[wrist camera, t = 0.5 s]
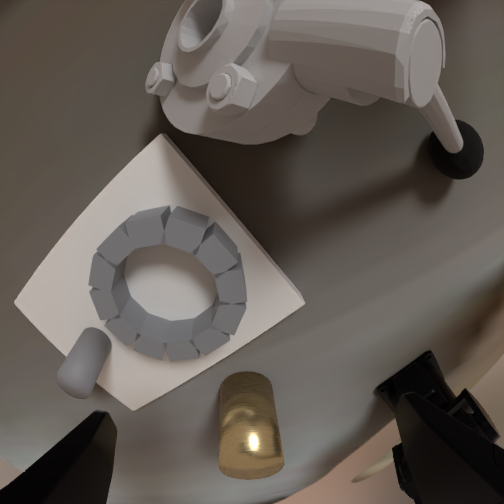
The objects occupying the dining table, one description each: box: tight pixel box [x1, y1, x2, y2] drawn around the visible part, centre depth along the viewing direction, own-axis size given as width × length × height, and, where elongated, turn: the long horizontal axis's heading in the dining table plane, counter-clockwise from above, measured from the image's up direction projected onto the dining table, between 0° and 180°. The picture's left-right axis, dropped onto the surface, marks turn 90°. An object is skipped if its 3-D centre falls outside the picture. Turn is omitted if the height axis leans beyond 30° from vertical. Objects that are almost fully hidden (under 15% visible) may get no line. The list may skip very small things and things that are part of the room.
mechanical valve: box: [146, 0, 484, 180], centre depth 15 cm, size 10×18×15 cm
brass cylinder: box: [219, 372, 284, 480], centre depth 21 cm, size 4×4×8 cm
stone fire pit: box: [14, 134, 305, 411], centre depth 18 cm, size 14×18×6 cm
